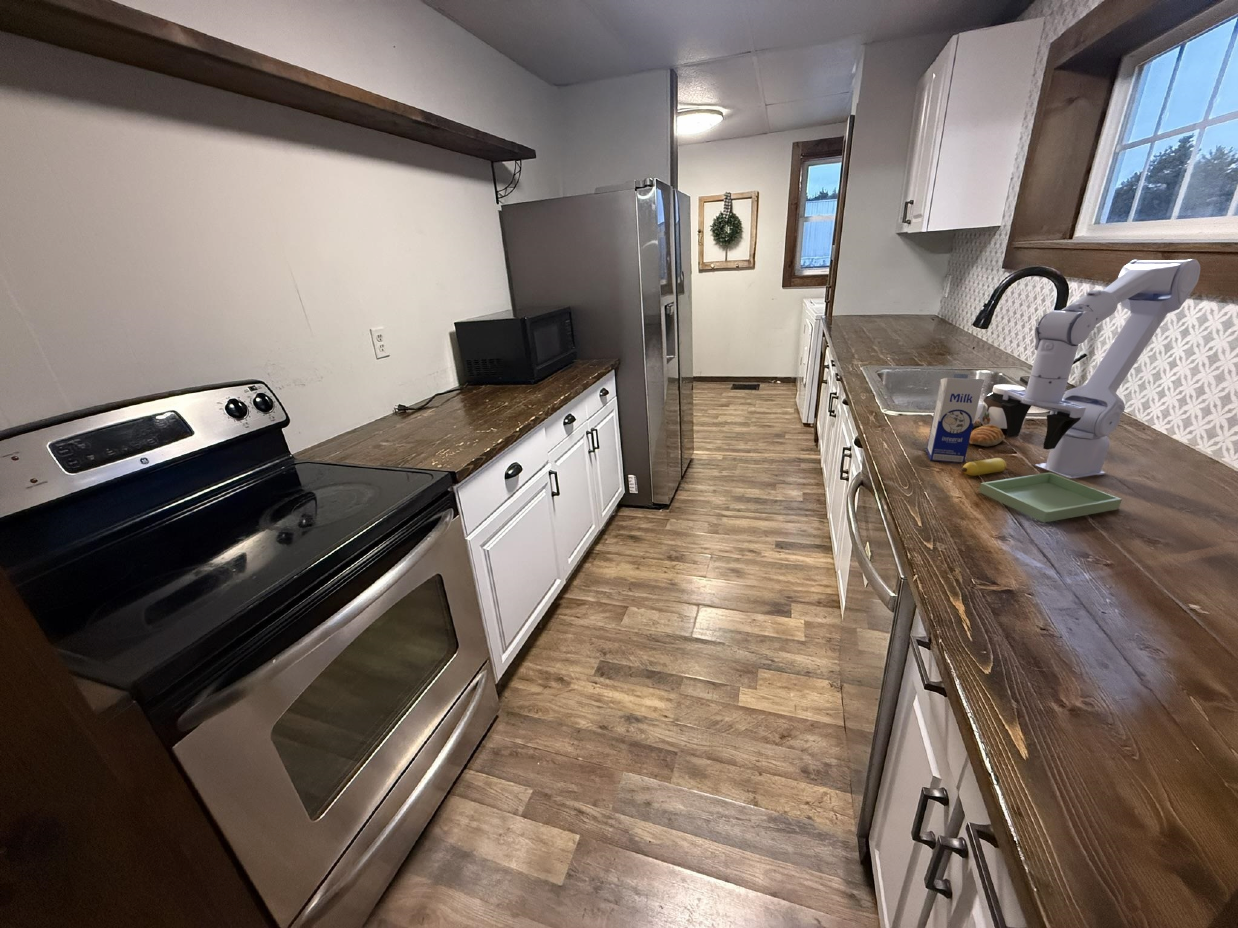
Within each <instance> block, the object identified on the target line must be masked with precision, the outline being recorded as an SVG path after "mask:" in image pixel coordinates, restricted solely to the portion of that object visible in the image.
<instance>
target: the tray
mask: <svg viewBox="0 0 1238 928" xmlns="http://www.w3.org/2000/svg"><path fill="white" fill-rule="evenodd" d="M978 493H980V494H982V495H984V496H986V497H988V498H991V499H993V500H995V501H996V502H999V503H1001V504H1003V505H1005V506H1007V507H1010V508H1012V509H1013V510H1016V511H1018V512H1020V513H1023V514H1024V515H1027V516H1029V517H1030V518H1032V519H1035V520H1036V521H1037V520H1038V521H1039V522H1040V523H1044V524H1045V523H1049V522H1055V521H1060V520H1066V519H1071V518H1077V517H1082V516H1088V515H1093V514H1099V513H1104V512H1110V511H1115V510H1119V509H1120V507H1121V504H1122V501H1123V498H1120V497H1118V496H1116V495H1112V494H1109V493H1107V492H1105V491H1102V490H1099V489H1096V488H1095V487H1091V486H1088V485H1086V484H1083V483H1081V482H1078V481H1075V480H1072V479H1071V478H1068V477H1065V476H1063V475H1060V474H1057V473H1054V472H1052V471H1049V472H1041V473H1035V474H1030V475H1023V476H1017V477H1010V478H1005V479H997V480H992V481H986V482H985V481H984V482H980V486H979V489H978Z"/></svg>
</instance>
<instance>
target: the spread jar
mask: <svg viewBox="0 0 1238 928" xmlns="http://www.w3.org/2000/svg"><path fill="white" fill-rule="evenodd" d="M1011 389H1013V390H1018V391H1024V392H1026V387H1024V386H1021V385H1017V384H1009V383H1007V384H1006V383H1002V384H1001V383H1000V384H994V385H993V388H992V392H990V393H988V394H987V395H986V396H985V397H984V399H983V400H982V402H980V401H979V403H978V407H977V411H976V415H975V419H974V424H975V423H976V422H977V420H978V419H979V420H978V421H979V423H980V427H981V426H983V425H986V426H987V425H994V426H997V427H999V428H1000V429H1001V431H1002V433H1003V434H1007V423H1006V417H1005V414H1004V411H1003V409H1002V407H1001V405H1002V403H1006V402H1007V401H1008V400H1004V399H1003V395H1004V391H1005V390H1011ZM1027 414H1028V413H1027ZM1027 414H1026V416H1025V419H1024V421H1023V424H1022V427H1021V429H1022V428H1023V426H1024V425H1025V421H1026V419H1027Z"/></svg>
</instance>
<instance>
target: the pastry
mask: <svg viewBox="0 0 1238 928" xmlns="http://www.w3.org/2000/svg"><path fill="white" fill-rule="evenodd" d="M1004 439H1005V435H1004V433H1002V431H1001V429H1000V428H999V427H997V426H994V425H987V426H986V425H983V426H981V425H980V426H979V427H976V428H974V429H972V432H971V436H970V440H969V445H978V446H982V447H988V448H989V447H992V446H996V445H998V444H1001V442H1002V441H1003V440H1004Z"/></svg>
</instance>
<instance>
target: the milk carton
mask: <svg viewBox="0 0 1238 928" xmlns="http://www.w3.org/2000/svg"><path fill="white" fill-rule="evenodd" d="M968 377H969V374H966V373H955V374H954V373H953V375H952V377H944V378H941V379H939V380H940V383H939V387H938V392H937V397H936V401H935V407H934V412H933V415H932V421H931V427H930V429H929V430H930V431H929V435H928V440H927V446H926V450H925V451H926V453H927V456H928V458H929V460H930V462H931V461H933V462H941V463H942V462H943V463H953V464H954V463H955V464H960V463H961V464H962V463H965V460H966V456H967V452H968V448H969V445H970V442H969V440H970V436H971V432H972V431H973V428H974V424H975V423H974V419H975V415H976V411H977V407H978V403H979V402H980V398H981V395H982V390H983V385H984V383H985V379H983V378H968Z"/></svg>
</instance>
